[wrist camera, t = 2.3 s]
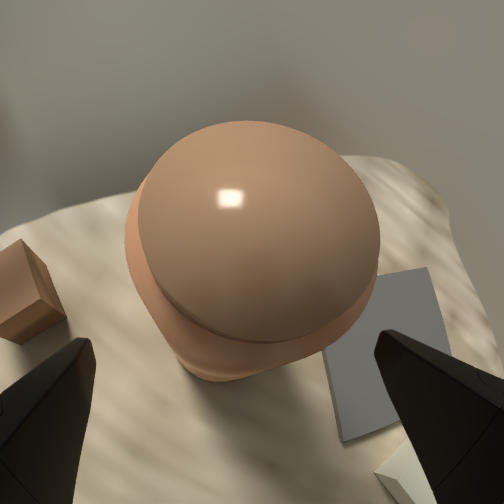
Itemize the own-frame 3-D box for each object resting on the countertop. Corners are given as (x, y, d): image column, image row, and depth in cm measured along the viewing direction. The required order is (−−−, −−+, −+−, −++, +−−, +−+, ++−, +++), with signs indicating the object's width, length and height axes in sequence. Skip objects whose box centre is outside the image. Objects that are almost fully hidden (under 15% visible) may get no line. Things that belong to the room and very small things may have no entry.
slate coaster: (453, 391, 19) (458, 391, 18) (340, 440, 17) (344, 441, 16) (422, 269, 23) (426, 266, 22) (307, 289, 21) (310, 286, 20)
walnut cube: (67, 316, 17) (40, 298, 14) (21, 345, 16) (-12, 332, 12) (46, 265, 18) (20, 238, 15) (3, 292, 17) (-28, 271, 13)
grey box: (444, 479, 16) (470, 483, 13) (408, 517, 15) (433, 526, 12) (411, 431, 18) (438, 432, 15) (371, 471, 16) (396, 479, 14)
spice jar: (274, 373, 18) (428, 323, 6) (178, 388, 17) (125, 382, 4) (256, 284, 20) (346, 114, 8) (166, 295, 19) (123, 117, 7)
